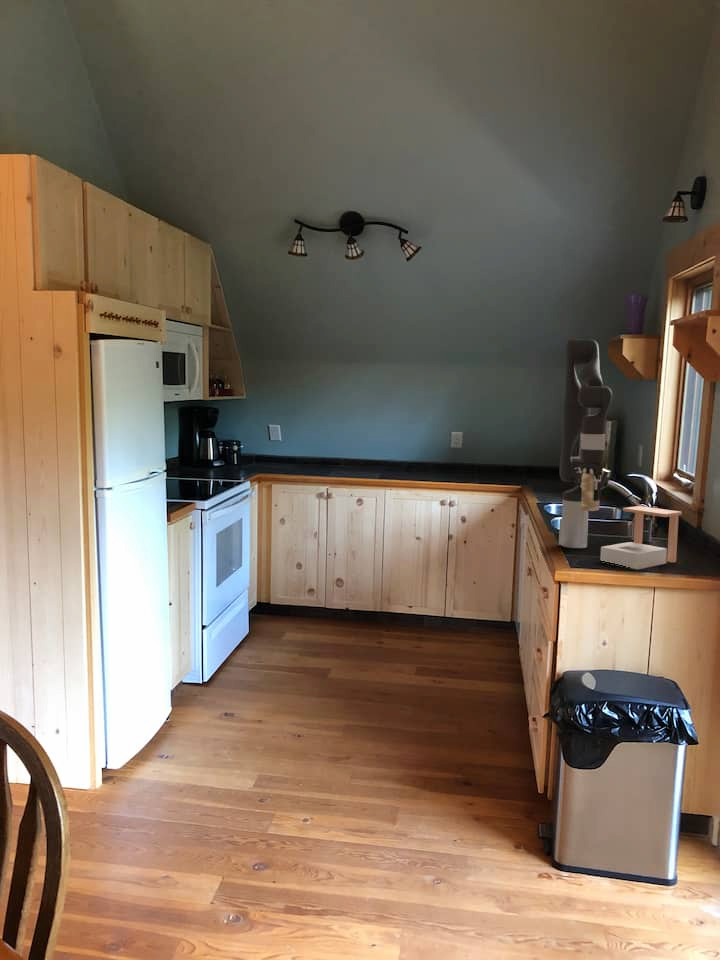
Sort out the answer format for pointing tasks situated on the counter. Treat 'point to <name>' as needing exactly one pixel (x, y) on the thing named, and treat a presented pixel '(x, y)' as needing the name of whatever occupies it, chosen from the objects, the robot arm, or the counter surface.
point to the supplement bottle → (644, 528)
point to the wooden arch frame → (672, 514)
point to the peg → (588, 493)
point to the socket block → (634, 555)
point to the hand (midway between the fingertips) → (590, 499)
